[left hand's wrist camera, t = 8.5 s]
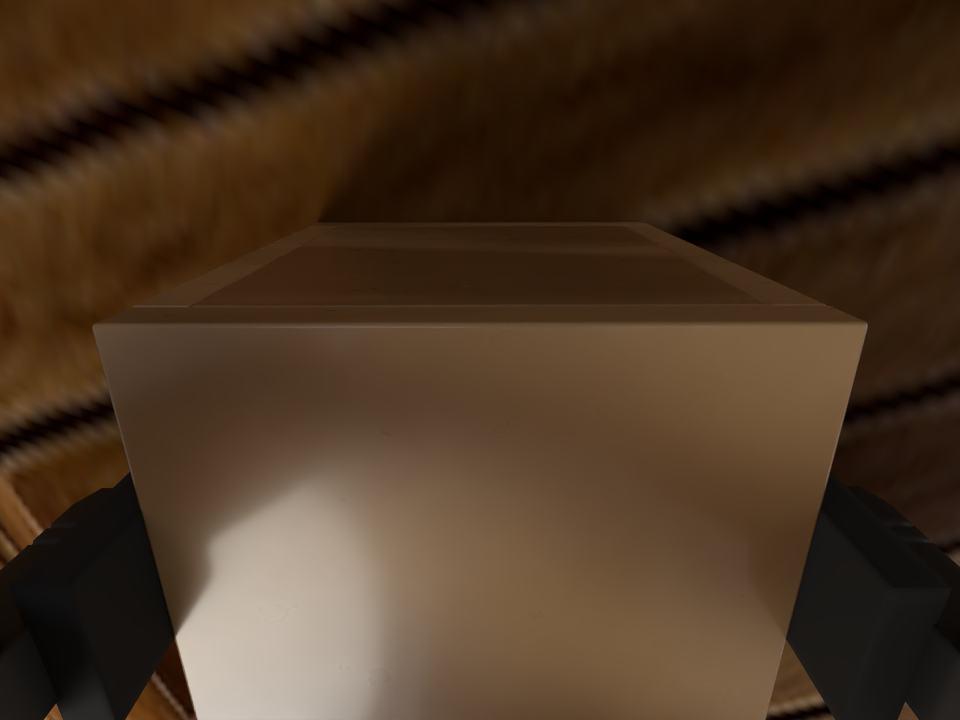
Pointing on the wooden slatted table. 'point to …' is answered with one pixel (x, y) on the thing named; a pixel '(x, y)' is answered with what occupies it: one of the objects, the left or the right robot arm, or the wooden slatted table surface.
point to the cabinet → (480, 471)
